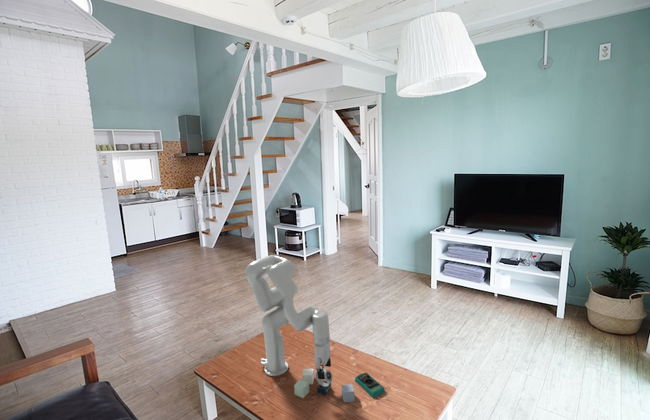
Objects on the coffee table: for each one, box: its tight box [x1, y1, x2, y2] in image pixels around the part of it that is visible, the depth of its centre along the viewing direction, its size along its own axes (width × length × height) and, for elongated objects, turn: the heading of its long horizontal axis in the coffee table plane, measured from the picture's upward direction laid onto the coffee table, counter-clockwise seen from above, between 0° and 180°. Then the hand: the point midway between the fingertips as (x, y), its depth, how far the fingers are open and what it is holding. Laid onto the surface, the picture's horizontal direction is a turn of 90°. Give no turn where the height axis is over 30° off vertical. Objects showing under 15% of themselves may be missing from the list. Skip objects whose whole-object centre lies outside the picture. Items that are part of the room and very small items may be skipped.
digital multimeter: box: [354, 372, 386, 398], centre depth 164 cm, size 7×15×3 cm, turn 30°
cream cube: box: [301, 368, 315, 385], centre depth 170 cm, size 5×5×5 cm
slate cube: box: [341, 383, 356, 403], centre depth 157 cm, size 5×5×5 cm
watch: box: [315, 367, 333, 397], centre depth 162 cm, size 6×8×11 cm
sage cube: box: [293, 378, 310, 399], centre depth 161 cm, size 5×5×5 cm
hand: (324, 372), depth 160 cm, fingers open, 9 cm apart
